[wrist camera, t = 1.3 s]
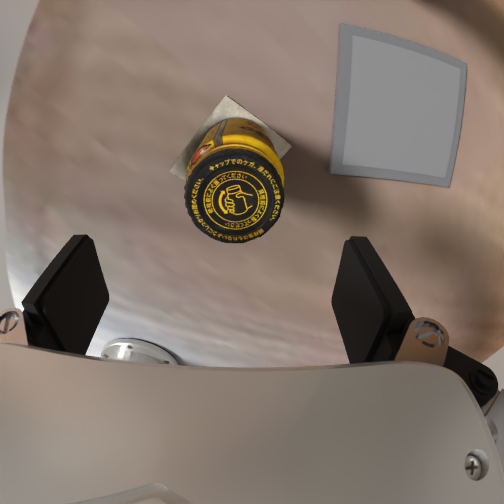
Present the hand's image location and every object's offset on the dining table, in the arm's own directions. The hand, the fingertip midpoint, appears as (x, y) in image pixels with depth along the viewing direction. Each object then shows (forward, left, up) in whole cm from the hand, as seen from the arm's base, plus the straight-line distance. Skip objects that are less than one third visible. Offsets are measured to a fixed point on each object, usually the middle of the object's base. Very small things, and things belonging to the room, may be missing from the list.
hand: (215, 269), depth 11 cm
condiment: (0, 0, -18) cm, 18 cm away
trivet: (+6, -16, -17) cm, 24 cm away
